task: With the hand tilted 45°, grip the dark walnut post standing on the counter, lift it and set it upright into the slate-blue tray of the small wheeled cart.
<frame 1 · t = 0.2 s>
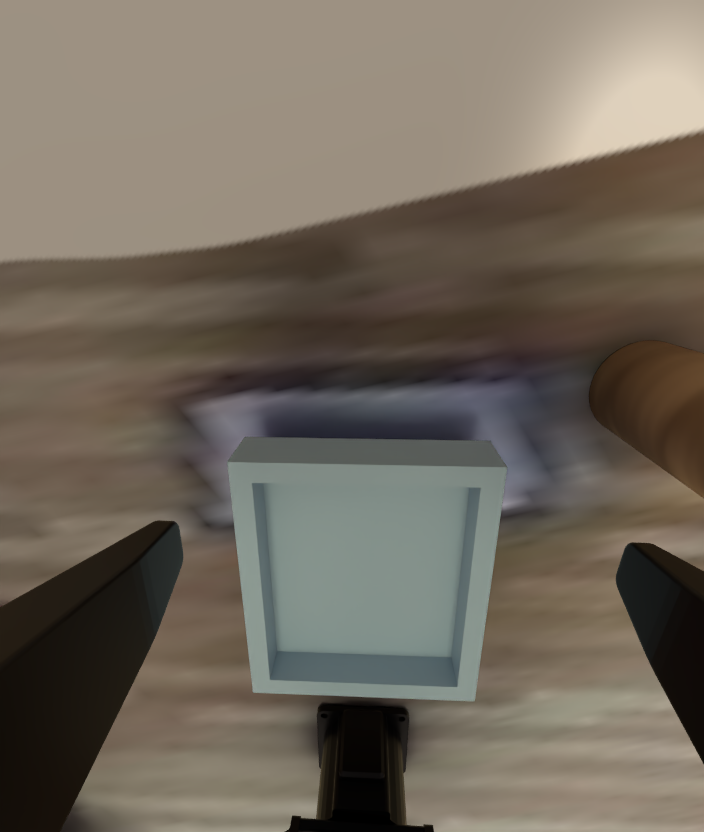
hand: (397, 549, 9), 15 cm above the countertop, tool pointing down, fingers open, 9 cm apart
caster cart: (365, 530, 26), on the countertop
walnut post: (639, 388, 22), on the countertop
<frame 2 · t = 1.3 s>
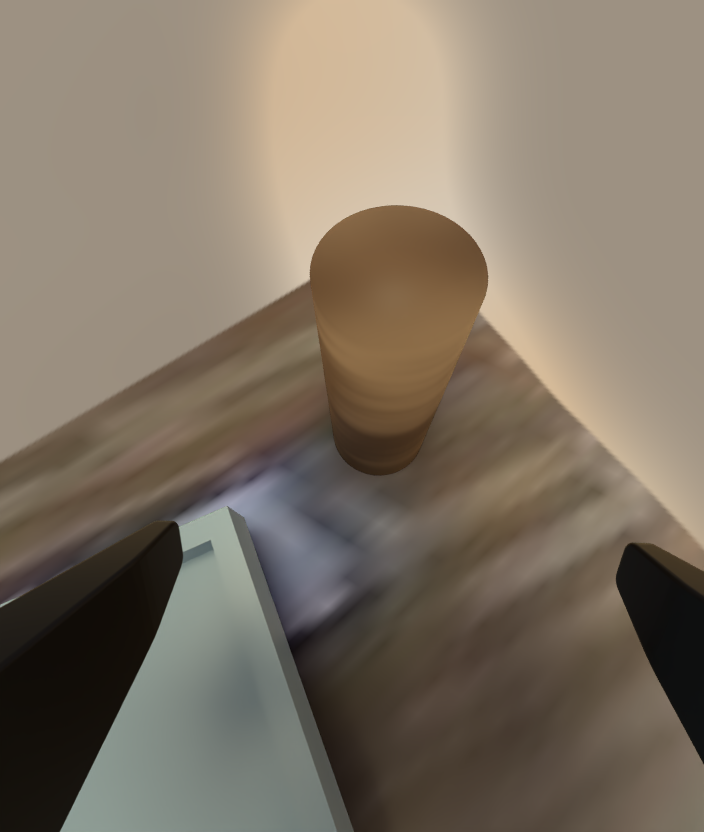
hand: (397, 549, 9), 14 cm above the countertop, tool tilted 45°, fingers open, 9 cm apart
caster cart: (179, 731, 19), on the countertop
walnut post: (378, 431, 24), on the countertop
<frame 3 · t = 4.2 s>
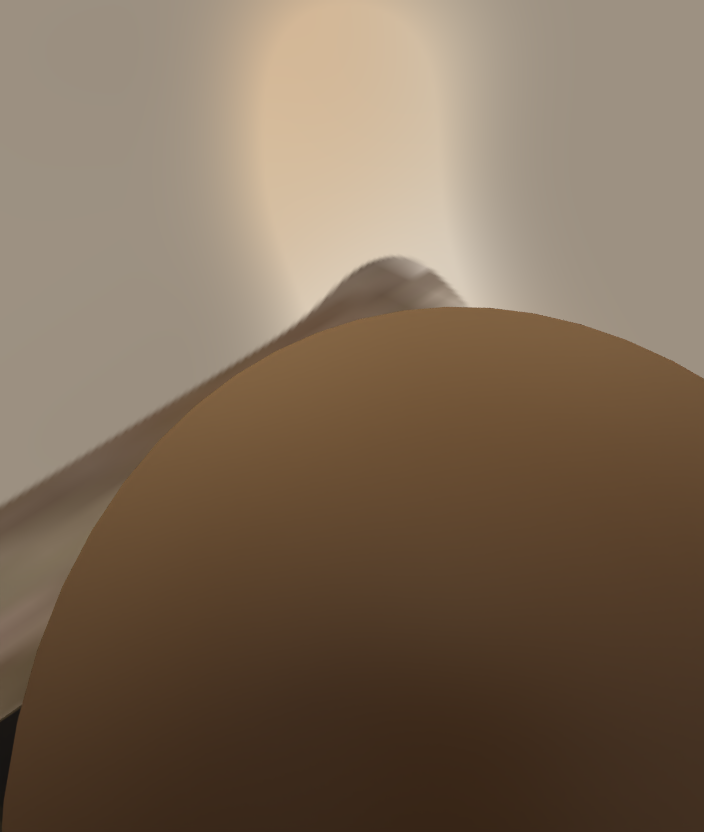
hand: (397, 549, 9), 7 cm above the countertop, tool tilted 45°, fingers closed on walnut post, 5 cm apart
walnut post: (380, 612, 14), on the countertop, touching gripper
when the fingers open (11 cm above the countertop, at t = 7.6 s): walnut post drops 1 cm, resting on caster cart.
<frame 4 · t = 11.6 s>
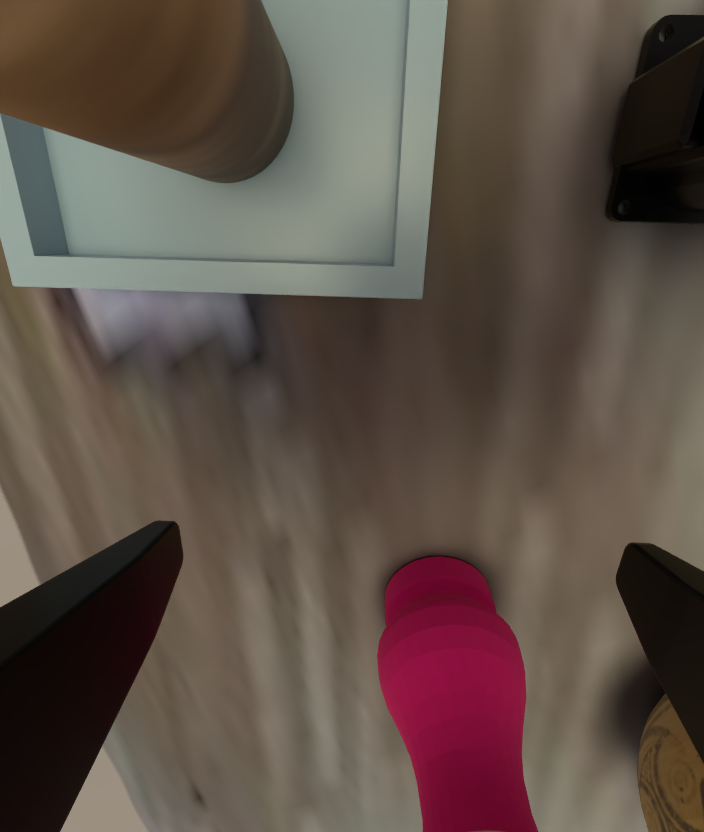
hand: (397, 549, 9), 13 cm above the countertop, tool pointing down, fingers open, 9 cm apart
caster cart: (244, 121, 17), on the countertop
pepper mill: (435, 593, 26), on the countertop
walnut post: (216, 95, 14), point 3 cm above the countertop, touching caster cart
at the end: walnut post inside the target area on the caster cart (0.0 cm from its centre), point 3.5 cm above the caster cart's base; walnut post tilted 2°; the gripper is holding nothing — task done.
